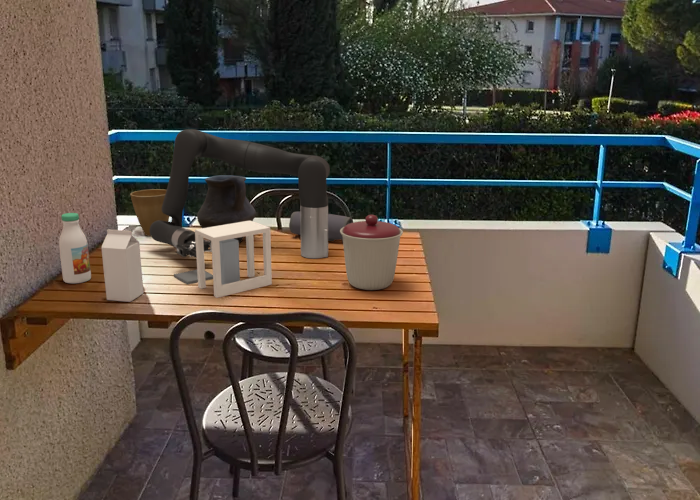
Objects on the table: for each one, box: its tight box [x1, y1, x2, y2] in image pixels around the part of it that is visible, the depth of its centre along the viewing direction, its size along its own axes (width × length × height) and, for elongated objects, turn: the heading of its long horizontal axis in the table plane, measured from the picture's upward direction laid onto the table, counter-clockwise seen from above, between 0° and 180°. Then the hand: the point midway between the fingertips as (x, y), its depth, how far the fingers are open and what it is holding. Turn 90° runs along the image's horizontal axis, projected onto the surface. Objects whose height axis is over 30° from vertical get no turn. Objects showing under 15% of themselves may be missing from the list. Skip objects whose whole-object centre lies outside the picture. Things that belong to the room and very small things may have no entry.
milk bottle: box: [58, 212, 92, 284], centre depth 185 cm, size 8×8×20 cm
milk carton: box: [100, 229, 144, 302], centre depth 172 cm, size 7×7×19 cm
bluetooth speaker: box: [288, 211, 354, 242], centre depth 233 cm, size 23×9×10 cm, turn 67°
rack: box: [194, 220, 273, 299], centre depth 182 cm, size 11×18×17 cm, turn 130°
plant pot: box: [130, 188, 170, 237], centre depth 237 cm, size 15×15×16 cm
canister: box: [340, 214, 404, 291], centre depth 183 cm, size 18×18×21 cm
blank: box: [219, 238, 241, 285], centre depth 185 cm, size 5×5×13 cm
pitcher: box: [196, 174, 257, 244], centre depth 227 cm, size 21×22×25 cm
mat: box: [173, 269, 213, 286], centre depth 191 cm, size 9×9×1 cm
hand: (212, 252), depth 192 cm, fingers open, 8 cm apart
